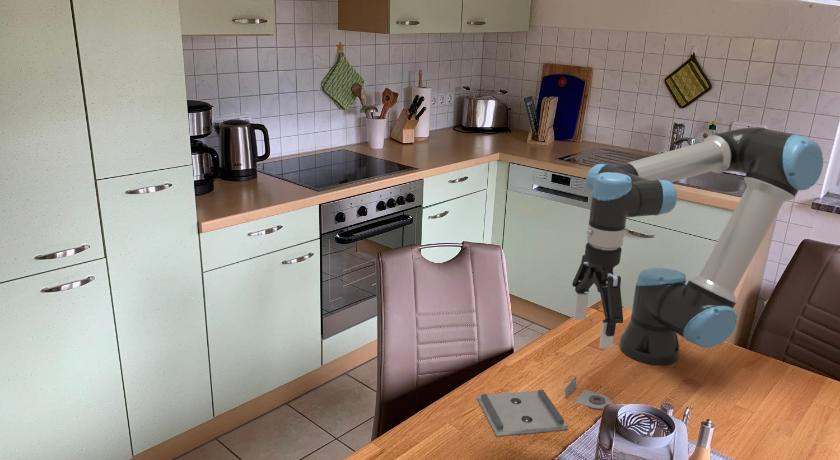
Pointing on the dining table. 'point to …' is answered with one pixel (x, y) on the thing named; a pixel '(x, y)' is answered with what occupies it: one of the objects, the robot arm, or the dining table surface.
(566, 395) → the bracket
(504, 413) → the mount plate
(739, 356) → the dining table surface
